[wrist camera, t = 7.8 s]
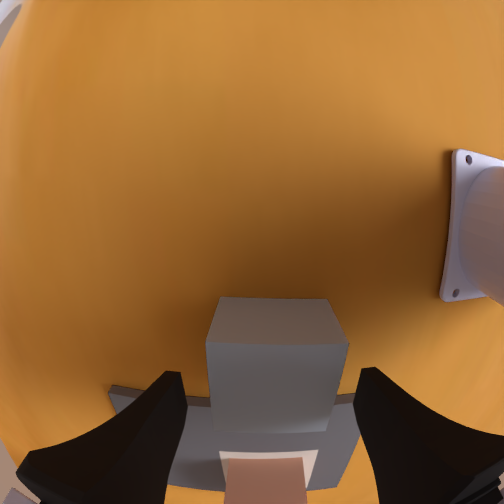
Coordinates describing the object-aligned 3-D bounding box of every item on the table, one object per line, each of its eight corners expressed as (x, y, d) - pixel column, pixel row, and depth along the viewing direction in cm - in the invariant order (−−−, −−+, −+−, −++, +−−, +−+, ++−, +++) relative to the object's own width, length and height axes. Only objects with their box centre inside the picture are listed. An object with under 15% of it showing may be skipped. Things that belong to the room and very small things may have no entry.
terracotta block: (302, 457, 15) (307, 503, 11) (296, 485, 16) (299, 523, 12) (229, 458, 15) (223, 504, 11) (234, 486, 16) (230, 524, 13)
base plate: (369, 391, 14) (373, 400, 13) (335, 480, 17) (336, 487, 17) (112, 385, 15) (107, 392, 14) (155, 475, 18) (153, 481, 17)
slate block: (326, 297, 13) (349, 343, 9) (313, 378, 14) (325, 431, 10) (220, 295, 13) (205, 341, 9) (223, 376, 14) (213, 430, 10)
